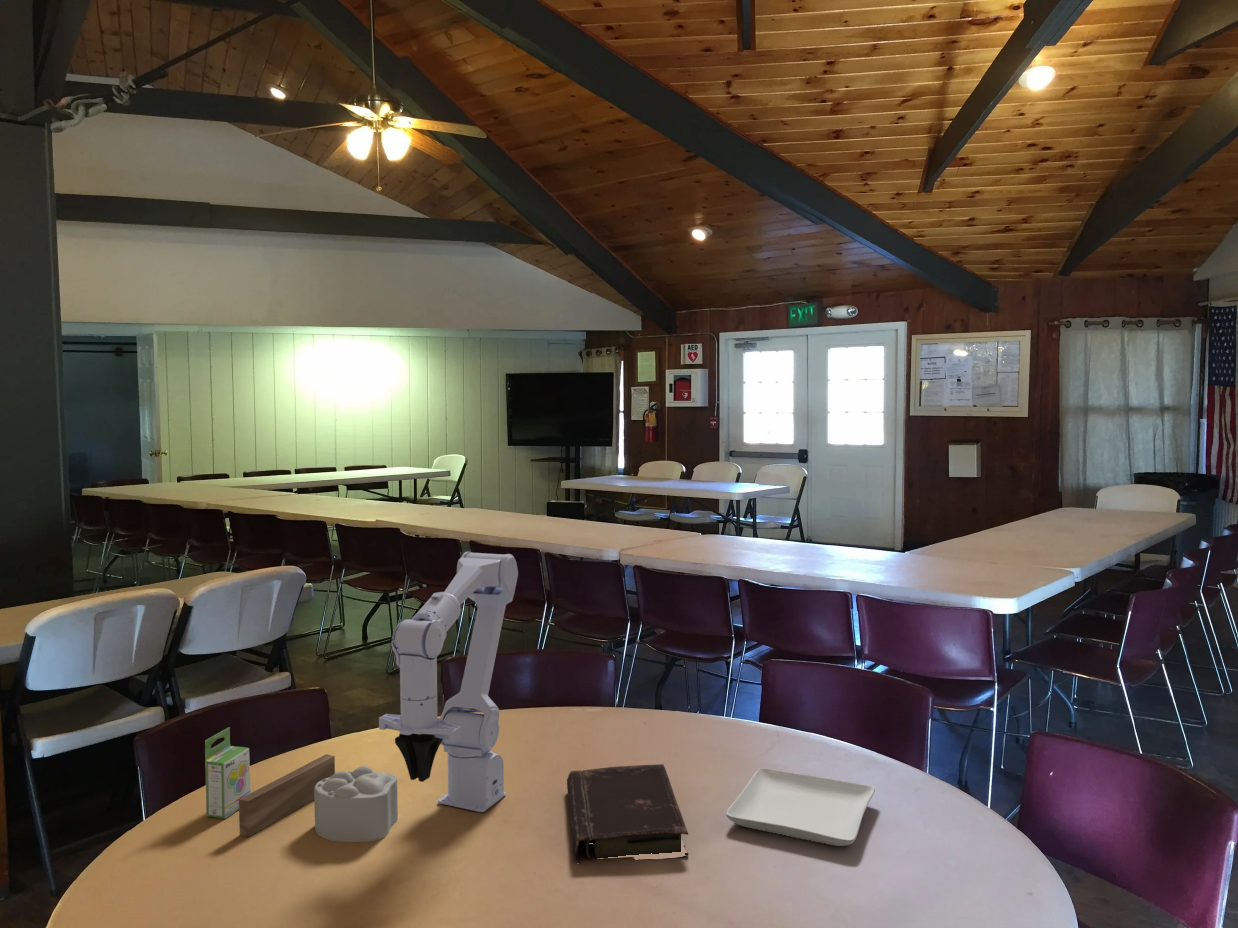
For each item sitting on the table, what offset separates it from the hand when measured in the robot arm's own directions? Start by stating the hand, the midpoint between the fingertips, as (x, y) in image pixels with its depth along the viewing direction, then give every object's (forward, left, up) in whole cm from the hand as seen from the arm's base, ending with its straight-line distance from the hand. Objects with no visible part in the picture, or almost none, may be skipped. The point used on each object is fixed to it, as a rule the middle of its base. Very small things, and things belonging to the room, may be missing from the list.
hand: (420, 778), depth 137 cm
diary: (-28, -19, -11) cm, 35 cm away
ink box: (+38, +4, -11) cm, 39 cm away
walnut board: (+28, 0, -10) cm, 29 cm away
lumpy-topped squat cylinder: (+13, 0, -11) cm, 17 cm away
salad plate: (-54, -33, -11) cm, 65 cm away
